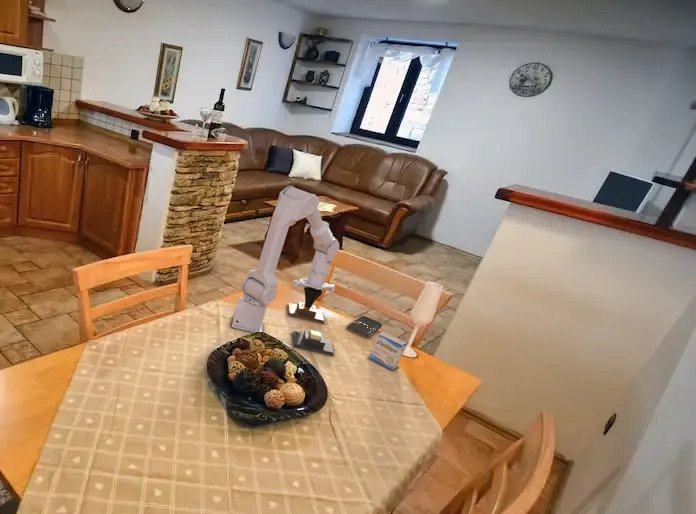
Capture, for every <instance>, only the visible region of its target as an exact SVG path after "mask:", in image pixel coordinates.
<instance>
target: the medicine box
mask: <svg viewBox="0 0 696 514" xmlns="http://www.w3.org/2000/svg"><path fill="white" fill-rule="evenodd" d="M375 339H376V340H375V342H374V345H373V346H372V348H371V351H370V354H369V356H368V359H369V360H371V361H373V362H375V363H377V364H379V365H381V366H383V367H385V368H387V369H389V370H391V371H392V370H395V369H396V368H397V367H398V366H399V365H400V362H401V359H402V358H403V356H404V355H403V353H404V351H405V348H406V346H407V344H408V341H405V340H403V339H401V338H399V337H396V336H394V335H392V334H391V333H388V332H386V331H382V332H380V333H379V334H377V337H376V338H375Z"/></svg>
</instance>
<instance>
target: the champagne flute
mask: <svg viewBox="0 0 696 514" xmlns="http://www.w3.org/2000/svg"><path fill="white" fill-rule="evenodd" d="M443 289H444V285H442V284H441V283H438V282H436V281H431V280H428V281H427V282H426V283H425V286H424V287H423V289H422V291H421V293H420V294H419V297H418V298H417V300H416V302H415V304H414V305H413V308H412V310H411V311H410V319H411V321H412V323H413V324H414V328H413V330H412V333H411V334H410V337H409V340H408V341H407V343H408V344H407V346H406V348H405V351H404V353H403V355H402V356H405V357H408V358H415V357H417V355H418V354H417V353H416V352H415V350H414V349H413V348H412V344H413V342H414V340H415V337H416V335H417V333H418V331H419V329H420V327H424V326H426V325H429V324H430V323H431V322H433V319H434V317H435V314H436V310H437V308H438V305H439V301H440V299H441V295H442V292H443Z"/></svg>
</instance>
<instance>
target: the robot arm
mask: <svg viewBox="0 0 696 514" xmlns="http://www.w3.org/2000/svg"><path fill="white" fill-rule="evenodd" d="M319 204H320V201H319V199H318V196H317V195H316V194H315V193H310V192H307V191H305V190H302V189H299V188H297V187H295V186H293V185H288V186H287V187H285V188H284V189H283V190H281V191H280V192H279V195H278V198H277V201H276V205H275V208H274V211H273V213H272V216H271V221H270V222H269V223H270V224H269V226H268V230H267V234H266V237H265V240H264V244H263V247H262V250H261V254H260V257H259V260H258V264H257V267H256V268H255V269H253V270H250V271H248V272H247V274H246V277H245V279H244V281H243V282H242V285H241V291H242V293H243V296H238V297H237V302H236V307H235V310H234V313H233V314H232V324H231V328H233V329H234V328H235V329H237V330H241V331H247V332H250V333H251V332H252V333H255V334H257V333H256V332H262V333H263V323H264V322H263V321H264V318H265V315H266V311H267V308H268V306H269V305H271V304H272V303H273V302H274V301H275V299H276V298H277V288H278V281H277V277H276V275H275V272H276V269H277V266H278V263H279V260H280V257H281V253H282V250H283V247H284V244H285V240H286V237H287V234H288V231H289V228H290V225H291V224H293V222H298V221H300V220H303V219H305V218H306V220H307V221H308V223H309V224H310V228H309V232H310V234H311V237H312V239H313V249H314V250H315V253H314V256H313V259H312V262H311V266H310V268H309V272H308V275H307V278H306V279H293V283H292V285H293V287H294V288H298V287H299V288H303V291H304V298H305V299H304V303H305V307H306V308H309V309H310V308H311V306H312V305H314V303H315V302H316V301H317V299H319V298H320V297H321V296H322V294H323V291H329V292H335V289H336V285H335V284H333V283H329V282H325V281H326V279H327V275H328V272H329V269H330V266H331V263H332V262H333V261H334V259H335V256H336V255H337V254H338V252H339V250H340V243H339V241H338V239H337V238H335V237H334V236H333V235H334V234H333V232H332V231H331V229H330V227H329V226H330V223H329V222H327V221H324V220H323V219H322V216H321V213H320V210H319ZM322 290H323V291H322Z"/></svg>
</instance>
